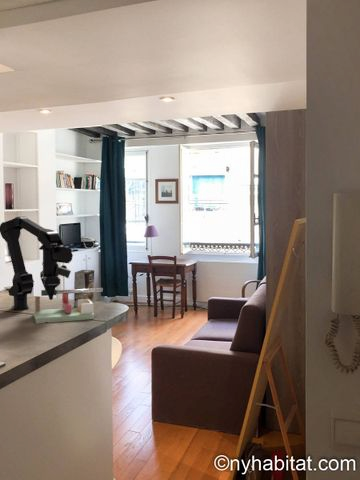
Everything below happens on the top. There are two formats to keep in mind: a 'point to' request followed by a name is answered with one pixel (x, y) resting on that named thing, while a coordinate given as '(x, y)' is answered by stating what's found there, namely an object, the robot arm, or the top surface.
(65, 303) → the rod
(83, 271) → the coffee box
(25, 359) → the top surface
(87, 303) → the foosball frame
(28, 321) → the top surface
